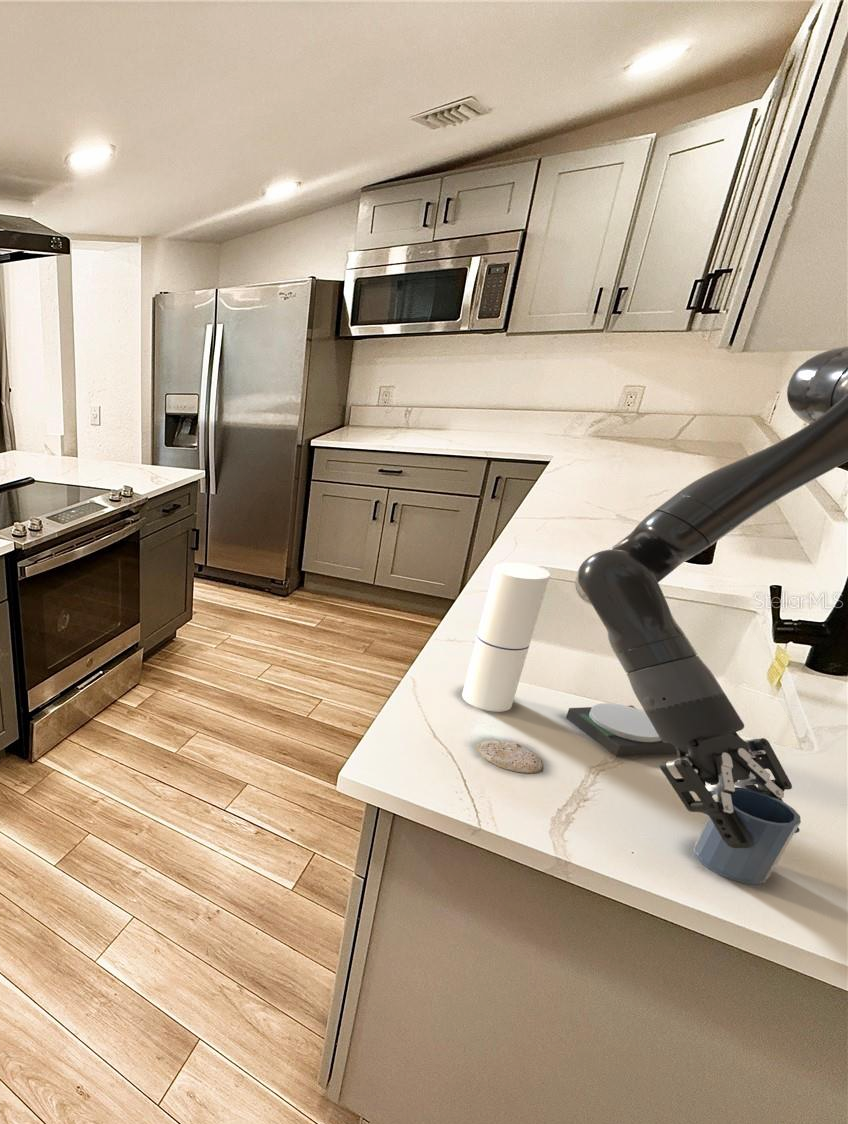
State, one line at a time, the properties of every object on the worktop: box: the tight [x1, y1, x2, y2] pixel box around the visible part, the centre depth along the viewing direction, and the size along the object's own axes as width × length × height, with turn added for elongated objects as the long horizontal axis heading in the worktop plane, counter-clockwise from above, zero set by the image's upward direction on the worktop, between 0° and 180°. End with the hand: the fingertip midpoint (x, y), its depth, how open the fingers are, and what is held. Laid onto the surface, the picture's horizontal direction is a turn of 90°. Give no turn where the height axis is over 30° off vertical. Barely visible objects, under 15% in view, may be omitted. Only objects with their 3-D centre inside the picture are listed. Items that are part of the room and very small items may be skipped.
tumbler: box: [692, 786, 802, 885], centre depth 72 cm, size 6×6×9 cm
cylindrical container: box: [461, 562, 551, 713], centre depth 102 cm, size 7×7×25 cm
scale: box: [565, 702, 677, 758], centre depth 96 cm, size 10×10×4 cm
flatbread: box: [476, 740, 543, 774], centre depth 93 cm, size 8×8×1 cm
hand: (765, 839), depth 70 cm, fingers closed on tumbler, 6 cm apart
